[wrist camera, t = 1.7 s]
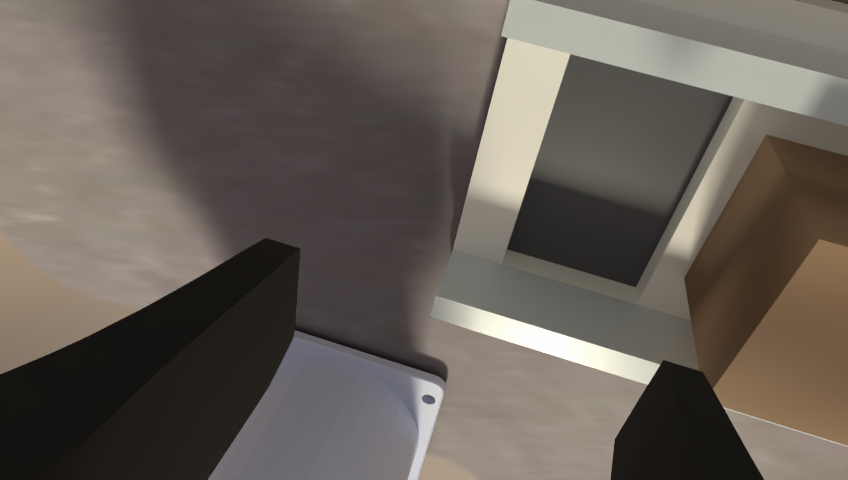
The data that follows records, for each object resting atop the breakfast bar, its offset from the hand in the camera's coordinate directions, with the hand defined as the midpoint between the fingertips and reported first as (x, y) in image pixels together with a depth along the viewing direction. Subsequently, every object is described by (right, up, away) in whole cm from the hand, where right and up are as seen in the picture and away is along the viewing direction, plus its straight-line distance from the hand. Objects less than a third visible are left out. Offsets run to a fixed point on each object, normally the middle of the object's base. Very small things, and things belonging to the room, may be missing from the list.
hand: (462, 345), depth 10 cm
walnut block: (+9, +2, +5) cm, 10 cm away
